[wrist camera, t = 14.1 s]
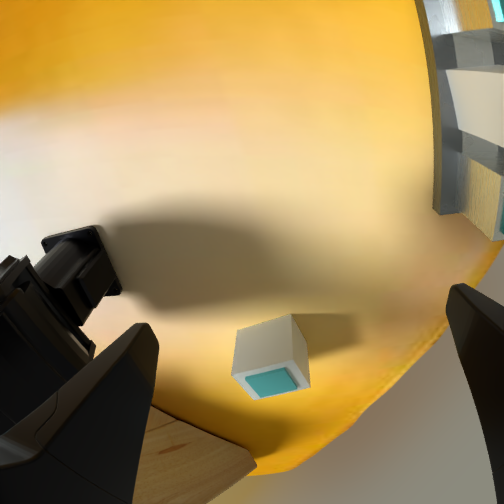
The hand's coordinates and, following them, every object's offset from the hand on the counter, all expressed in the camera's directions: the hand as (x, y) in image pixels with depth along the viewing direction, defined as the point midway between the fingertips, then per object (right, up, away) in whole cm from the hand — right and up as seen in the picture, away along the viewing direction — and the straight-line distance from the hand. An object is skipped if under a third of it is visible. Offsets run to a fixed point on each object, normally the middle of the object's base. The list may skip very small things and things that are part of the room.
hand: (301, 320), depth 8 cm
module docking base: (+14, +13, +7) cm, 20 cm away
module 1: (0, -6, +19) cm, 19 cm away
